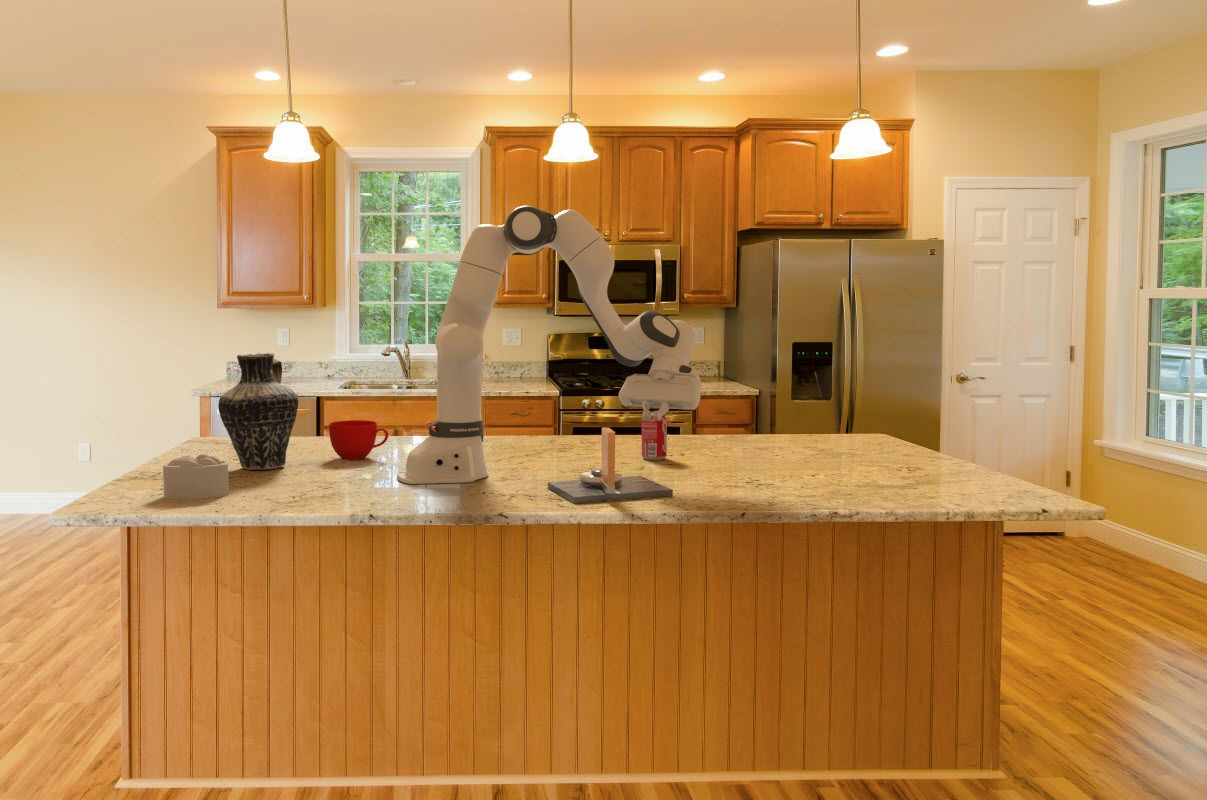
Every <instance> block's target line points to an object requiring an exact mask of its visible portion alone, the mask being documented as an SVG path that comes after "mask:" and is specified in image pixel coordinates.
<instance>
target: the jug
mask: <svg viewBox="0 0 1207 800" xmlns="http://www.w3.org/2000/svg"><path fill="white" fill-rule="evenodd" d="M274 357H275V353H269V352H268V353H259V352H258V353H255V354H252V353H251V354H250V353H249V354H237V356H236V358H237V361H238V365H239V368H240V373H241V374H240V378H239V379H240V380H239V381H238V383H237V384H236V385H234V386H233V387H232V388H230V389H229V390H227V391H225V392H224V393H223V394H222V395H221V396H220V398H219V399H218V407H217V408H218V412H219V413H218V414H219V416H220V419H221V421H222V424H223V426H224V428H225V430H226V432H227V434H228V436H229V438H230V441H231V444H232V446H233V449H234V451H235V452H236V455H237V457H238V460H239V463H240V466H241V468H242V469H245V470H271V469H277V468H280V467H283V466H285V465H286V464H287V463H286V461H287V460H286V458H287V449H288V446H289V443H290V438H291V434H292V430H293V427H294V425H295V421H296V418H297V413H298V407H299V397H298V395H297V394H296V392H295V391H294V390H292V389H291V388H289V387H288V386H285V385H283V384H282V383H281V382H282V376H283V364H282V362H281V360H279V359H277V358H274Z"/></svg>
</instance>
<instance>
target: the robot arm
mask: <svg viewBox="0 0 1207 800" xmlns="http://www.w3.org/2000/svg"><path fill="white" fill-rule="evenodd" d="M544 248H549V249H550V248H551V249H553V250H554V251H555V252H556V253H557V254H559V256H561V259H562V260H563V261H564V262H565V263H566V264H567V266H568V267H569V269H570V270H571V272H572V274H573V275H574V278H575V279H576V283H577V289H578V290H577V291H578V293H579V296H580V298H581V299H582V302H583V304H584V306H585V307H586V309H587V310H588V312H589V314H590V315H591V318H592V319H593V320H594V322H595V324H596V325H597V327H598V329H599V330H600V332H601V333H602V335H603V337H604V339H605V340H606V343H607V346H608V348H609V351H610V353H611V355H612V357H613V358H614V359H615V361H617V362H618V363H619V364H621V365H623V366H626V367H631V368H632V367H637V366H638V365H640V364H642V362H643V361H644V360H646V359H647V358H648V357H649V356H651V355H652V357H653V360H652V363H651V366H650V369H649V371H648V374H647V373H646V374H645V373H642V374H641V373H640V374H639V373H633V374H632V375H628V376H627V377H626V379H625V381H624V383H623V384H622V387H621V388H620V390H619V392H618V399H619V401H620V403H621V404H622V406H624V407H625V406H626V407H638V408H639V407H640V408H642V410H643V412H642V414H641V417H642V418H643V419H644V420H650V417H651V413H650V412H651V411H650V409H651V408H657V410H654V411H653V412H654V414H653V418H654V420H657V421H660V420H661V417H662V416H663V415H664V414H665V415H666V414H667V413H668V412H669V410H670V409H673V410H674V409H675V410H688V411H689V410H691V411H694V410H696V409H697V408H698V407H699V405H700V401H701V397H702V395H701V387H702V381H701V377H700V375H699V373H698V371H697V368H696V367H693V366H690V365H688V364H689V363H690V362H691V361H692V357H693V354H694V350H695V346H696V341H697V340H696V338H697V336H696V332H695V329H694V328H693V326H692V325H691V324H689V323H688V322H686V321H684V320H682V319H681V320H680V319H675V320H673V319H669V318H668V317H667V316H666V315H665V314H663V313H661V312H659V311H658V310H652V309H651V310H650V309H649V310H645V311H644V312H642V313H641V314H639V315H638V316H637V317H636V318H634V319H633V320H632V321H631V322H630V323H627V325H625V324H624V323H623V322H622V320H621V318H620V315H618V313H617V311H616V310H615V308H614V306H613V305H612V303H611V301H610V300H609V297H608V286H609V282H610V279H611V278H612V276H613V273H614V269H615V255H614V253H613V250H612V248H611V247H610V245H609V243H607V241H606V239H604V237H603V236H602V235H601V234H600V232H599V231H598V230H597V229H596V228H595V226H594V225H592V224H591V222H589V220H588V219H586V218H585V216H583V215H582V214H581V213H579V212H578V211H577V210H575V209H566V210H562V211H560V212H559V213H557V214H556V215H554V214H552V213H550V212H548V211H546V210H543V209H540V208H539V207H538V208H537V207H536V206H531V205H522V206H518V207H516V208H514V209H513V210H511V211H510V213H509V214H508V215H507V217H506V219H505V222H504V224H502V225H494V224H490V223H489V224H487V223H486V224H484V223H483V224H479V225H477V226H476V227H474V228H473V230H472V232H471V233H470V235H469V238H468V239H467V242H466V244H465V246H464V249H463V252H462V254H461V257H460V260H459V263H458V267H457V269H456V273H455V277H454V279H453V283H452V287H451V289H450V293H449V296H448V299H447V300H446V301H447V302H446V305H445V307H444V311H443V313H442V317H441V320H440V323H439V326H438V329H437V332H436V335H435V341H434V342H435V344H434V345H435V348H436V352H437V355H436V356H437V359H436V360H437V368H436V371H437V373H436V420H435V421H433V422H431V421H425V423H424V425H423V426H424V428H425V429H426V430H427V431H428V435H429V436H428V437H426V439H424V440H423V441H422V442H420V443H419V444H417V446H415V447H414V448H413V449H411V450H410V451H409V452H408V456H407V458H406V465H405V470H401V471H398V472H397V473H396V478H397V480H398V481H400V482H402V483H405V484H411V485H417V484H419V485H421V484H455V483H456V484H457V483H472V482H473V483H474V482H475V481H476V480H481V479H484V478H486V477H488V476H489V473H488V470H487V464H486V462H485V455H484V448H483V446H484V445H483V442H484V437H485V434H484V433H485V431H484V430H485V428H484V427H485V426H484V420H483V419H482V386H483V385H482V383H483V368H484V367H483V363H484V339H483V334H484V332H485V329H486V325H487V324H488V320H489V318H490V315H491V314H492V313H491V312H492V310H493V307H494V305H495V302H496V299H497V295H498V291H499V289H500V287H501V286H500V285H501V282H502V280H503V279H502V278H503V275H504V271H505V268H506V266H507V263H508V260H509V258H510V257H511V256H532V255H535V254H538V253H540V252H541V251H542V250H544Z"/></svg>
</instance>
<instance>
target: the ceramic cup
mask: <svg viewBox="0 0 1207 800" xmlns="http://www.w3.org/2000/svg"><path fill="white" fill-rule="evenodd" d="M377 427H378V424H377V421H373V420H357V419H354V420H353V419H351V420H340V421H333V422H330V423H328V432H329V434H328V435H329V440H330V444H331V447H332V449H333V450H334V452H335V453H336V454H337V456H338V457H339V458H340V459H341V460H343V461H360V459H362V460H365V459H367V457H368V456H369V454H370V453H371V452H372V450H373V449H375V448H378V447H381V446H382V445H385V443H386V442H388V439H389V431H388V430H387V429H386V428H384V427H379V428H377ZM380 431H382V432H384V439H383V440H382V441H381V442H379V443H376V439H377V433H379V432H380ZM375 443H376V444H375Z"/></svg>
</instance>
